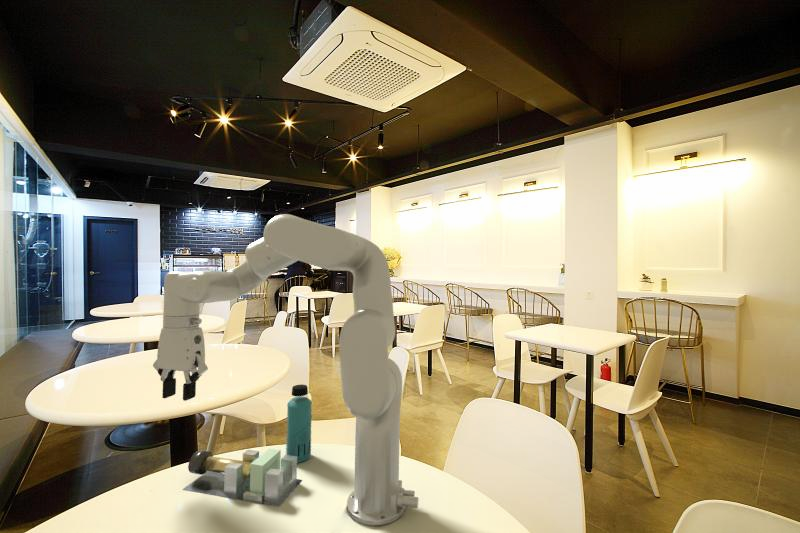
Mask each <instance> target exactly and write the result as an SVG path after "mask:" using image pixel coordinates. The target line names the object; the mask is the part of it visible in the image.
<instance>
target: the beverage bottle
mask: <svg viewBox="0 0 800 533" xmlns="http://www.w3.org/2000/svg"><path fill="white" fill-rule="evenodd" d="M308 393H309V391H308V386H307V384H296V385H293V386H292V389H291V395H292V396H293V398H291V399H290V400H289V401H288V402H287V413H286V414H287V417H286V419H287V421H286V441H285V442H286V447H285V455H290V456H297V464H298V463H303V462H305V461H308V460H309V459H310V457H311V453H312V418H313V416H312V412H313V411H312V403H313V402H312V401H311V399H310V398H308V397H307V395H308Z"/></svg>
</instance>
